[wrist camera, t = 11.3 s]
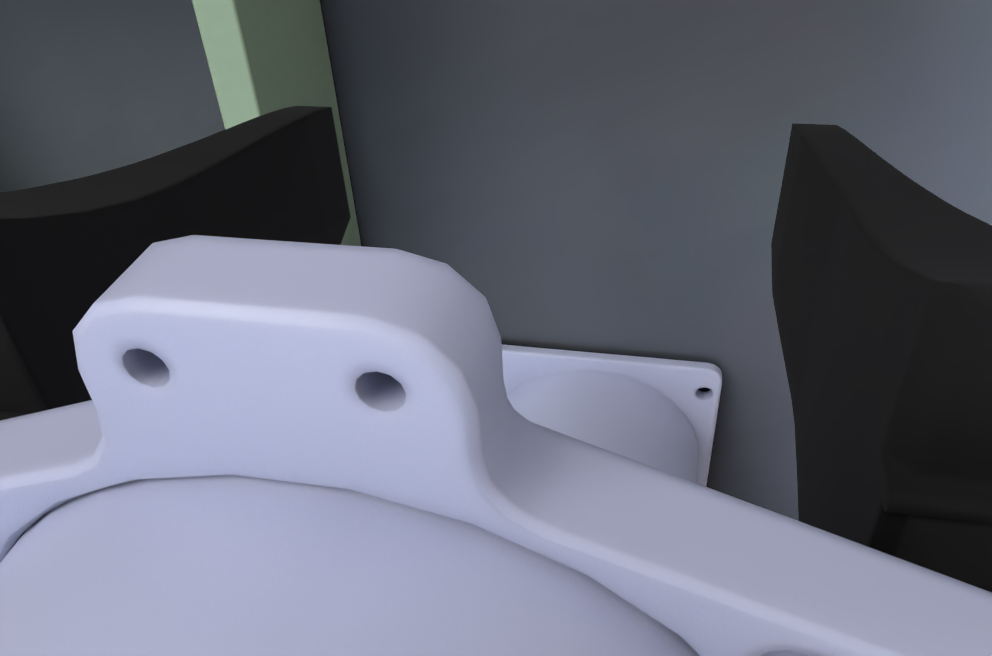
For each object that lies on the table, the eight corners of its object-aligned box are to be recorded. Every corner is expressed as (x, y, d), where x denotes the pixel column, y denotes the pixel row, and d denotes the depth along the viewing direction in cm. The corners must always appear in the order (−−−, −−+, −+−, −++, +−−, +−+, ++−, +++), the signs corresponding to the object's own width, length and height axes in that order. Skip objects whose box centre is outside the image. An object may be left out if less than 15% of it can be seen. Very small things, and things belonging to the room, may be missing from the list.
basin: (364, 260, 27) (299, 370, 23) (-38, 231, 30) (-163, 325, 25) (263, -337, 18) (124, -341, 14) (-304, -298, 21) (-567, -290, 16)
